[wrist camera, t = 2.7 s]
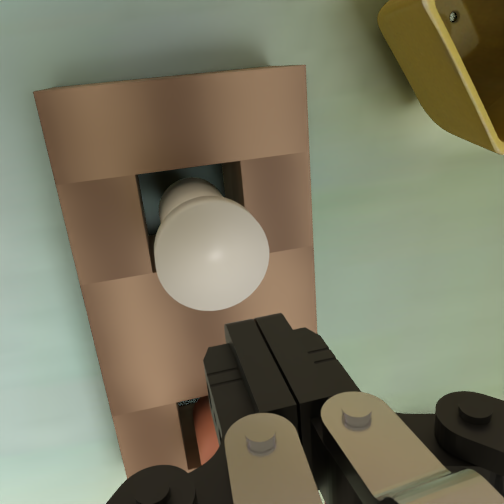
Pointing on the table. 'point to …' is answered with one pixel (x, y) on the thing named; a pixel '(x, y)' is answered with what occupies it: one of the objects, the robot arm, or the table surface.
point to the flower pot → (453, 62)
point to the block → (142, 245)
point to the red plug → (205, 429)
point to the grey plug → (208, 247)
